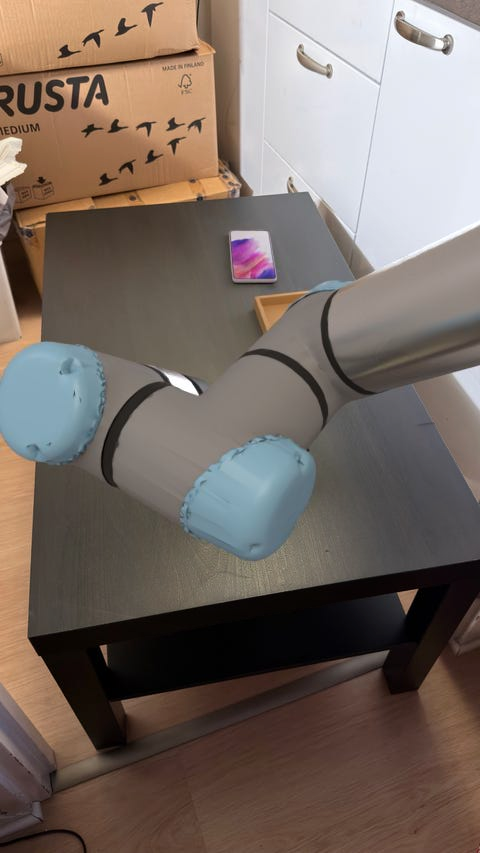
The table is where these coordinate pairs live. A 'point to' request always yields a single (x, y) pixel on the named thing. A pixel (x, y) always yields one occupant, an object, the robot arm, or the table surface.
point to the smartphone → (251, 256)
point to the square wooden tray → (274, 307)
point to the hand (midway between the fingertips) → (267, 430)
